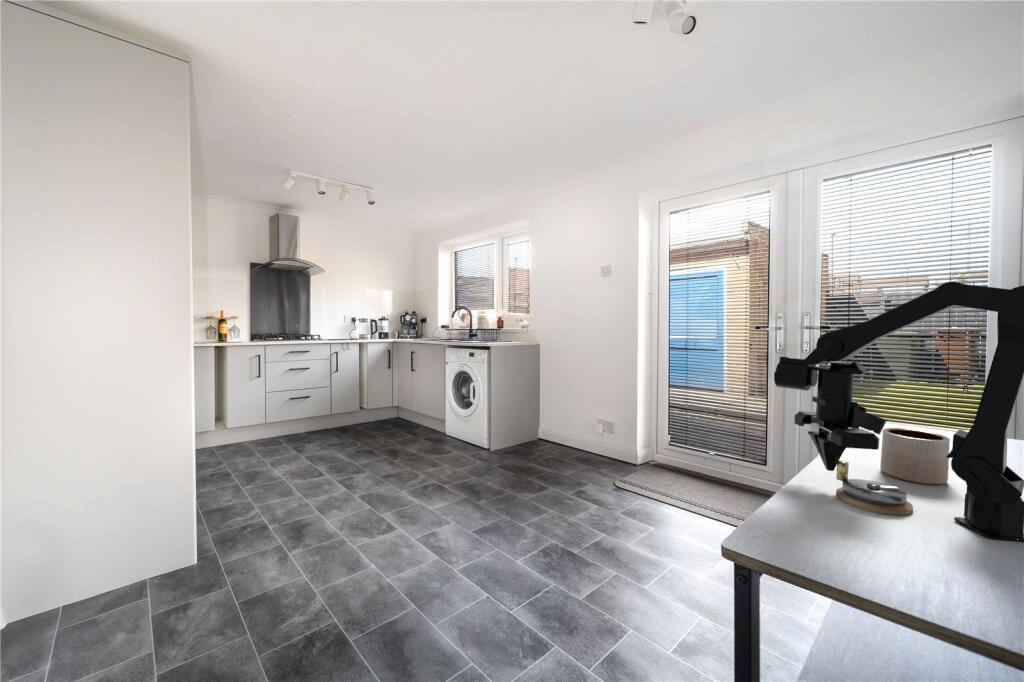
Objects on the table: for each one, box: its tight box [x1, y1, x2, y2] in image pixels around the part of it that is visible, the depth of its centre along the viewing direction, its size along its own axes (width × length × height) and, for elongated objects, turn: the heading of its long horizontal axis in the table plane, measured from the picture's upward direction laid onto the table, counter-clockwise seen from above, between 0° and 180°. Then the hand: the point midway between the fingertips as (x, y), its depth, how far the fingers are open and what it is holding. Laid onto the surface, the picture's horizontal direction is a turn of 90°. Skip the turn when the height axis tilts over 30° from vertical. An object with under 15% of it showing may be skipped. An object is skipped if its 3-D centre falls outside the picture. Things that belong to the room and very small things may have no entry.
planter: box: [880, 427, 951, 486], centre depth 94 cm, size 11×11×10 cm
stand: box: [835, 486, 914, 517], centre depth 81 cm, size 11×11×2 cm
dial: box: [835, 460, 908, 506], centre depth 81 cm, size 9×9×5 cm
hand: (830, 470), depth 87 cm, fingers closed
